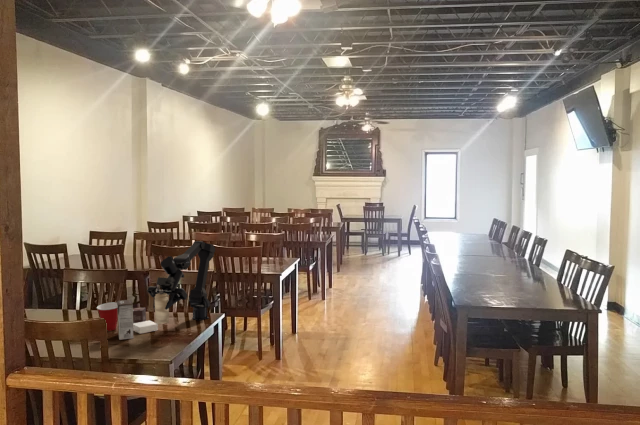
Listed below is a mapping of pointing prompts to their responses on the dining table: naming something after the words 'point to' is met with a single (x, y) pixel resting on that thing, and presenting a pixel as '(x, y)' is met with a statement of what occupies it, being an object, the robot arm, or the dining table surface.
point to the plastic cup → (109, 314)
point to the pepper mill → (161, 308)
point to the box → (139, 315)
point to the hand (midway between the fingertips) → (159, 308)
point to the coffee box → (125, 319)
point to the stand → (145, 327)
